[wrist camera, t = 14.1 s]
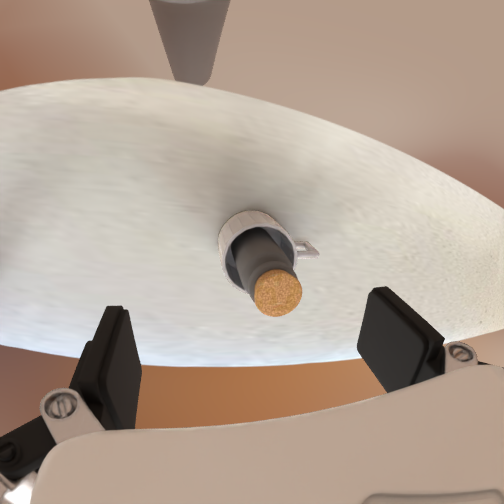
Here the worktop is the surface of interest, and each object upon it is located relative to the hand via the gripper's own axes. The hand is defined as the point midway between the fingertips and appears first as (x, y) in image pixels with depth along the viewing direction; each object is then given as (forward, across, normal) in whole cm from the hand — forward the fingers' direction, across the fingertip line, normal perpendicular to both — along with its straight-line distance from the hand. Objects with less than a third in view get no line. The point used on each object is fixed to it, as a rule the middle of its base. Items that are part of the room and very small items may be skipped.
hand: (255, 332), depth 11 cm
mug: (+31, -7, +8) cm, 33 cm away
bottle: (+31, -5, +8) cm, 32 cm away
